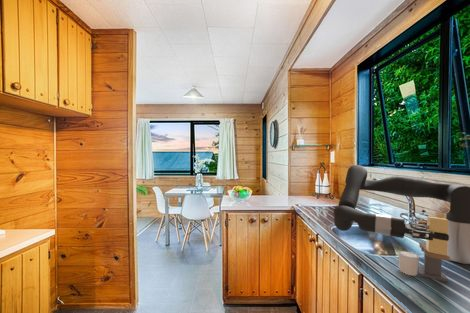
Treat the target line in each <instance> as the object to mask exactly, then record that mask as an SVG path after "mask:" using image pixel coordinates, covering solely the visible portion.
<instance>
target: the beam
mask: <svg viewBox="0 0 470 313" xmlns="http://www.w3.org/2000/svg"><path fill="white" fill-rule="evenodd" d="M418 247H419V248H420V250H421V252H423V253H425V255H426V256H427V257H430V258H435V259H440V260H442V261H447V262H450V261H451V260H450V256H449V255H447V256H445V255H440V254H435V253H430V252H428V251H427V250H426V242H421V241H420V242H419V246H418Z"/></svg>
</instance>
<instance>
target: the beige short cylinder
mask: <svg viewBox="0 0 470 313" xmlns="http://www.w3.org/2000/svg"><path fill="white" fill-rule="evenodd" d="M397 254H398V268H399V269H398V270H399V272H400V273H402V272H403V274H404V273H405V274H404V275H407V274H408V275H409V276H418V273H419V272H418V268H419V265H420V258H421V257H420V255H419V254H417V253H415V252H411V251H406V250H399V251H397Z"/></svg>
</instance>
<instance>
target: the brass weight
mask: <svg viewBox="0 0 470 313" xmlns="http://www.w3.org/2000/svg"><path fill="white" fill-rule="evenodd" d="M426 218H427V220H426V221H427V222H426V225H427V230H429V231H433V232H438V233H445V234H448V220H447V219H446V218H444V217H436V216H429V215H427V217H426ZM426 235H427V236H429V234H426ZM425 241H426V242H425V243H426V250H427V251H428V252H430V253H435V254H440V255H445V256H447V242H448V241H445V240H439V239H433V240H426V239H425Z"/></svg>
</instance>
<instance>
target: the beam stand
mask: <svg viewBox="0 0 470 313" xmlns="http://www.w3.org/2000/svg"><path fill="white" fill-rule="evenodd" d="M423 253H424V252H423ZM442 261H443V260H440V259H435V258H430V257H427V256H426V255H425V253H424V254H423V268H420V267H418V272H417V273H418V275H419V276H420V277H423V278H429V279H433V280H438V281H442V282H447V283H448V277H447V276H446V274H445V273H443V272H442V265H443V264H442Z"/></svg>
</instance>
